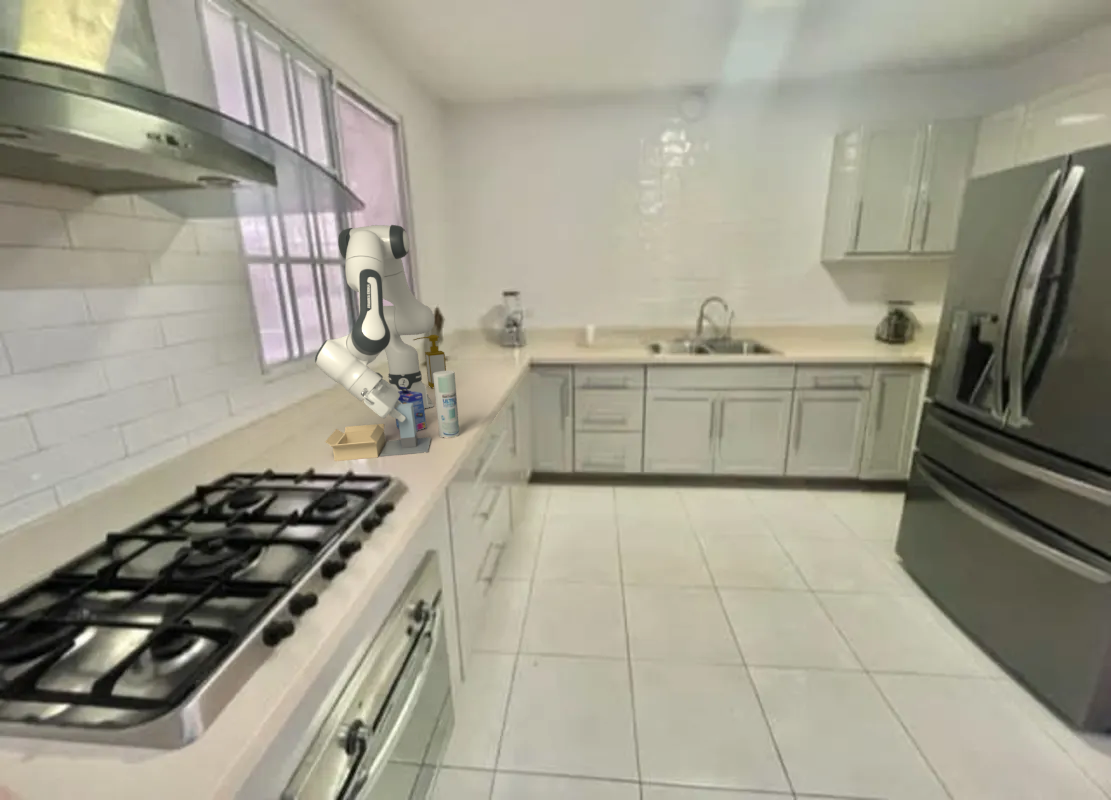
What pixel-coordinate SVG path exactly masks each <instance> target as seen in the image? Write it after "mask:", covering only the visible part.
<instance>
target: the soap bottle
mask: <svg viewBox="0 0 1111 800" xmlns="http://www.w3.org/2000/svg"><path fill="white" fill-rule="evenodd" d="M438 338H440V336H439V335H436V334H430V335H428V336H422V337H416V338H413V339H412V341H418V340H422V339H428V342H431V346H429V349H430V351H425V352H424V353H425V354H424V355H425V366H426V376H427V386H428V385H429V386H430V387H434V378H433V373H435V372H439V371H447V366H446V365H447V363H446V355H445V352H444V351H443V350H439V346H438V345H437V344H436V343H437V342H438V341H439V339H438ZM429 386H428V387H429ZM430 387H429V388H430Z"/></svg>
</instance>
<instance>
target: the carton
mask: <svg viewBox="0 0 1111 800" xmlns="http://www.w3.org/2000/svg"><path fill="white" fill-rule="evenodd" d="M344 429H345V430H344V432H343V431H341V430H339V429H337V428H336V429H334V431H333V432H332V433H331V434H330V436H329V437H328V438H327V439H326V440H325V441H324V443H326V444H328V446H330V447H332V452H333V459H334V462H337V461H338V462H340V461H350V460H351V461H352V460H353V461H354V460H362V459H374V458H378V457H379V456H380V454H381V452H382V450H383V448H384V447H385V445H386V435H385V423H378V424H377V423H376V424H365V425H364V424H363V425H351V426H345V427H344Z"/></svg>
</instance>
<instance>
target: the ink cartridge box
mask: <svg viewBox="0 0 1111 800" xmlns="http://www.w3.org/2000/svg"><path fill="white" fill-rule="evenodd" d="M399 387H400V389H401V390H402V391H399V392H398V393H399V394H400V397H399V399H398V400H399V401H400V402H401V403H402V404H406V403H413V409H414V417H415V425H416V432H419V431H422V430H421V429H423V430H425V429H424V428H426V429H427V419H426V413H425V409H424V404H423V396H422V393H419V392H411V391H409V390H408V389H407V388H406V387H401V386H399ZM402 388H404V389H406V390H403V389H402ZM394 408H395V407H394ZM395 409H396V410H397V408H395ZM395 425H396V428H397V427H398V428H397V429H399V422H398V419H396V418H395ZM418 430H419V431H418Z"/></svg>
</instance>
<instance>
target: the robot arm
mask: <svg viewBox="0 0 1111 800" xmlns="http://www.w3.org/2000/svg"><path fill="white" fill-rule="evenodd" d="M337 238H338V239H337V240H338V241H337V243H338V245H337V246H338V249H339V252H340V255H341V257H342V258H344V259H345V263H344V265H345V268H344V270H345V279H346V282H347V285H348V287H349V288H350V289H351V290H352V291H355V292H356V293H358V311H359V313H358V318H357V319H356V321H355V323H354V325H353V327H352V329H351V331H350V334H347V335H345V336H341V337H339V338H335V339H327V340H325V341H324V342H323V343H322V345H321V346H320V348H319V349H318V352H317V353H316V355H315V357H314V362H315V364H316V366H317V367H318V368H319V369H320V370H321V371H322V372H323V373H324V374H325V375H327V376H328V378H330V379H331V380H332V381H334V382H335V383H338V384H340V385H342V387H343V388H344V389H345V390H346V391H347V392H348V393H349V394H350V395H352V396H353V397H354V398H356V399H357V400H358V401H360V402H364V404H365V405H366V407H368V408H369V409H370V410H372V411H373V412H374V413H375V414H376V415H378V416H379V417H380V418H382V419H386V418H387V417H388V416H390V417H392V418H394V419H395V420H396V419H398V420H399V421H400V422H403V421H404V420H405V419H406V416H405V415H404V414H402V413H400V412H398V411H397V410H396V409H395V408H397V407H398V405H399V404H402V403H401V402H400V401H399V400H398V399H399V397H400V394H399V393H398V392H399V391H402V390H401V389H400V387H399V386H401V387H406V388H407V389H408V390H409V391H411V392H419V393H422V396H423V404H424V410H425V408H426V409H428V408H429V407H430V408H433V407H434V406H435V405H434V402H432V399H430V397H429V394H428V392H427V385H425V383H423V381H422V380H423V378H422V376H423V375H422V371H421V369H420V362H419V353H418V351H417V349H416V348H415V347H414V346H412V345H410V344H407V343H406V342H404V341H403V340H402V337H401V336H413V335H414V336H415V335H416V336H417V335H422V334H425V333H430V332H431V331H432V329H433V327H434V326H435V314H434V313H433V311H432V309H431V307H429V306H427V305H425V304H424V303H422V302H421V301H420V300H419V299H417V297H415V295H414V294H413V293H412V290H411V289H410V287H409V284H408V281H407V277H406V274H405V273H406V272H405V269H404V265H403V264H404V263H403V260H402V259H403V258H405V257H406V256H407V255H408V254H409V250H410V239H409V236H408V234H407V231H406V230H405V229H404V227H403V226H401V225H396V224H395V225H394V224H391V225H385V224H379V225H378V224H375V225H373V224H372V225H368V226H360V227H354V228H353V227H348V228H346V229H343V230H342V231H340V233H339V234H338V237H337ZM383 300H385V301H387V302H389V303H390V304H392V305H384V301H383ZM383 351H385V354H386V358H387V359H386V360H387V365H388V374H387V375H388V377H387V378H388V381H387V380H386V379H384V376H383V375H382V374H381V373H380V372H375V371H374V370H373V369H371V368H370V367H369V366H368V365H369V364H371V363H372V362H374V361H375V360H376V359H377V358H378V356H379V355H380V354H381V353H382V352H383ZM402 389H403V390H406V389H404V388H402ZM394 407H395V408H394Z"/></svg>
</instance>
